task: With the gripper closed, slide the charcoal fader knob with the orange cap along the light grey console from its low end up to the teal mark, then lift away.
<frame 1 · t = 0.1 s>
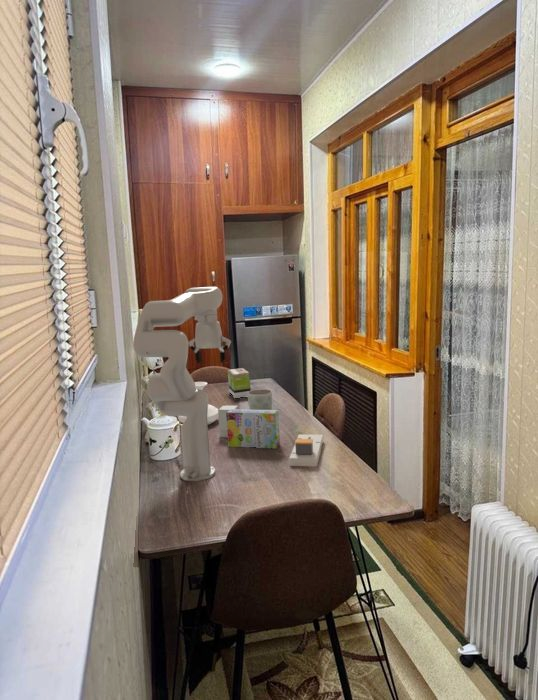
hand: (210, 362, 195), 37 cm above the table, tool pointing down, fingers open, 9 cm apart
snack box: (254, 446, 205), on the table
tea box: (240, 395, 289), on the table
fader console: (307, 453, 193), on the table
candle holder: (199, 423, 240), on the table
supplement box: (229, 435, 220), on the table
planter: (261, 413, 251), on the table
fader knob: (304, 446, 185), point 6 cm above the table, slide at 0.0 cm
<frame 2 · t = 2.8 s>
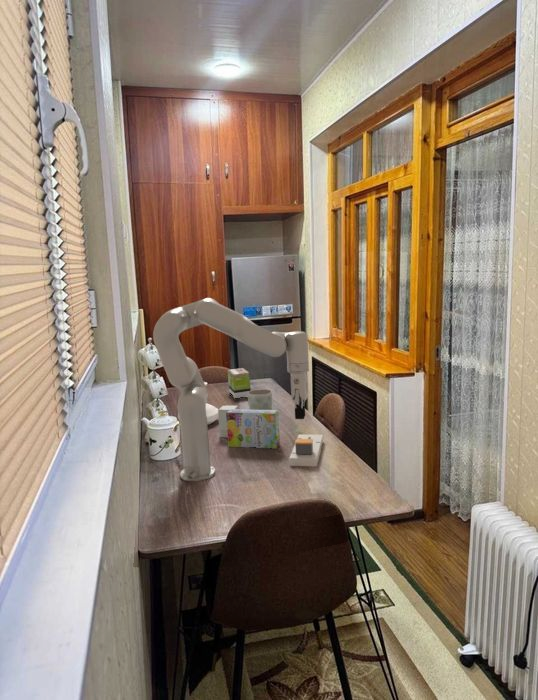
hand: (300, 417, 176), 19 cm above the table, tool pointing down, fingers closed
nothing on the table moved.
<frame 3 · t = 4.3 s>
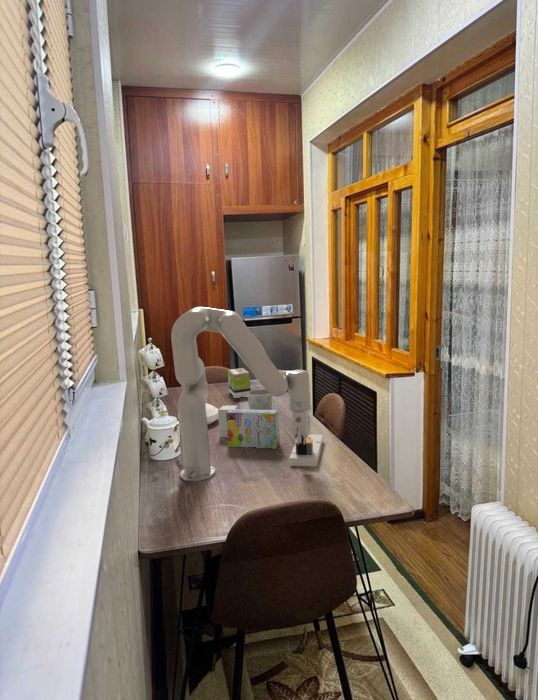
hand: (302, 454, 178), 5 cm above the table, tool pointing down, fingers closed
nothing on the table moved.
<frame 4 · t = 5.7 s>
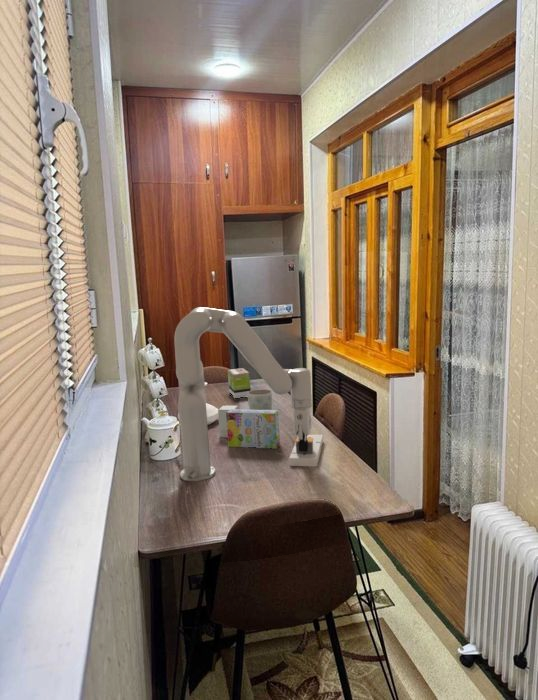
hand: (303, 450, 182), 5 cm above the table, tool pointing down, fingers closed
fader knob: (304, 445, 186), point 6 cm above the table, slide at 1.2 cm, touching gripper
everything else where it was.
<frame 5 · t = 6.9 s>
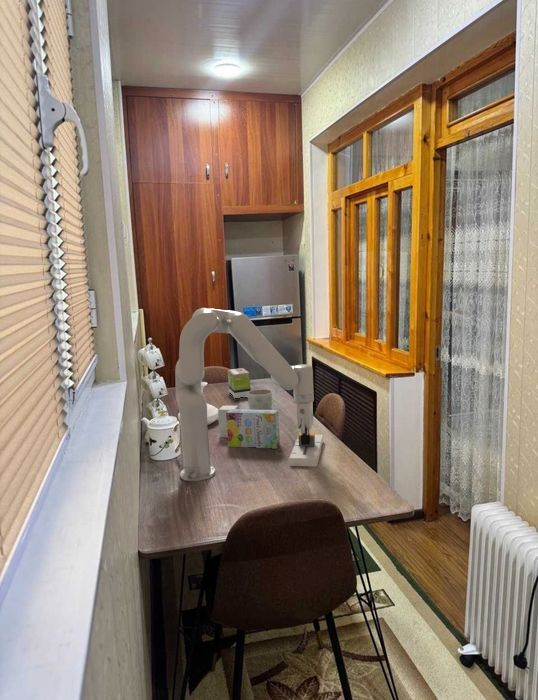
hand: (305, 443, 189), 5 cm above the table, tool pointing down, fingers closed
fader knob: (306, 439, 192), point 6 cm above the table, slide at 8.2 cm, touching gripper
everything else where it was.
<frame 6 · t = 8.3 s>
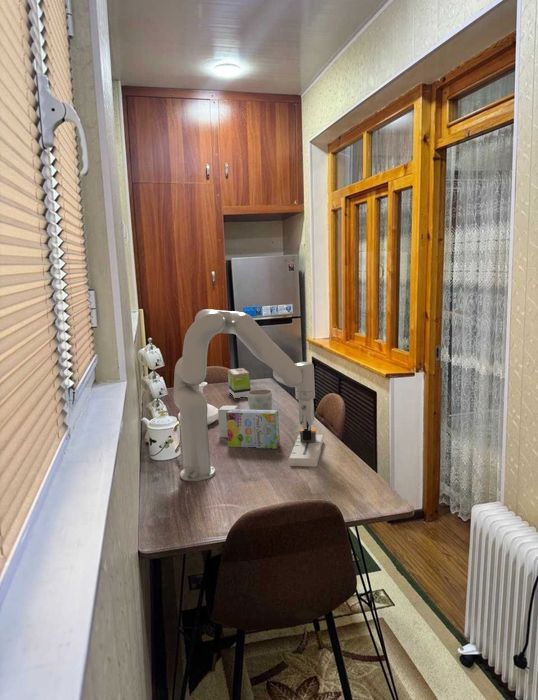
hand: (307, 439, 193), 5 cm above the table, tool pointing down, fingers closed
fader knob: (308, 435, 197), point 6 cm above the table, slide at 13.0 cm, touching gripper
everything else where it was.
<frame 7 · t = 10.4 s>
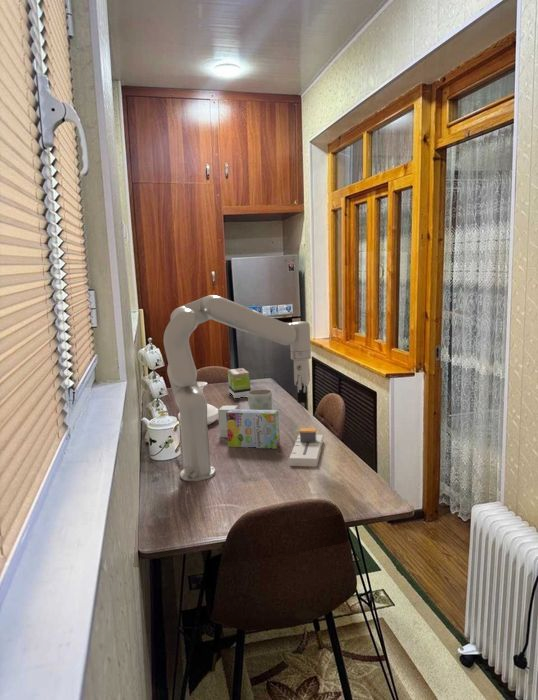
hand: (302, 402, 188), 21 cm above the table, tool pointing down, fingers closed
fader knob: (308, 434, 197), point 6 cm above the table, slide at 13.1 cm
everything else where it was.
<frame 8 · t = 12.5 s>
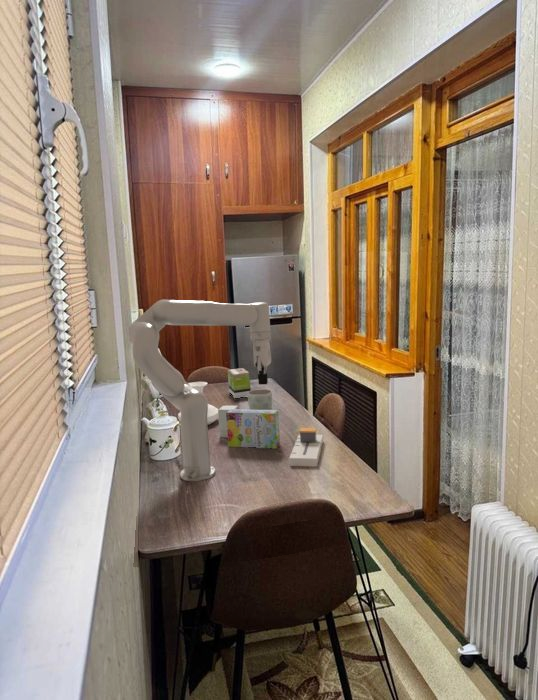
hand: (263, 383, 187), 29 cm above the table, tool pointing down, fingers closed
nothing on the table moved.
at the end: fader knob slide at 13.1 cm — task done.
